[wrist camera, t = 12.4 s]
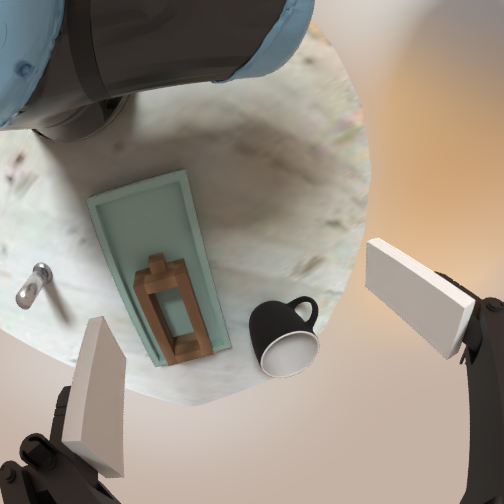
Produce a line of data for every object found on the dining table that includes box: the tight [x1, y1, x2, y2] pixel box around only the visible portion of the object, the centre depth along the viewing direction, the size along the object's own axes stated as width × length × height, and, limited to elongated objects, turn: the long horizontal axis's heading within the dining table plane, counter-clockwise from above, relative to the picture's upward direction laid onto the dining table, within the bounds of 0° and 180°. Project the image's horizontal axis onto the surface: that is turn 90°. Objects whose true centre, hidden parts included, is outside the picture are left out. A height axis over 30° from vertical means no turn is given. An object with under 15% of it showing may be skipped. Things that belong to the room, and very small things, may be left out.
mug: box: [249, 296, 320, 378], centre depth 43 cm, size 12×9×10 cm
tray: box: [86, 169, 231, 367], centre depth 40 cm, size 28×13×2 cm, turn 11°
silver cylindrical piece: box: [16, 263, 52, 309], centre depth 31 cm, size 3×3×8 cm
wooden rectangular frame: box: [133, 252, 214, 365], centre depth 39 cm, size 7×16×4 cm, turn 11°
